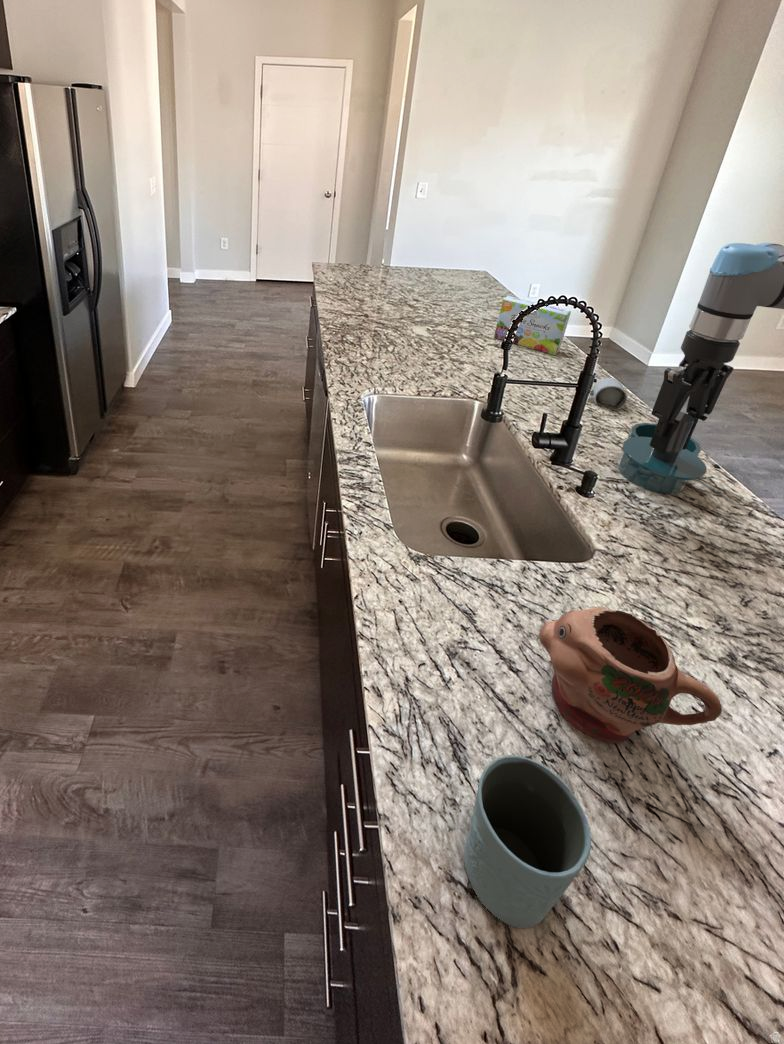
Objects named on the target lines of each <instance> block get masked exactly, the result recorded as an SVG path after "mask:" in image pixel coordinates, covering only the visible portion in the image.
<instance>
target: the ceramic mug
mask: <svg viewBox="0 0 784 1044" xmlns="http://www.w3.org/2000/svg"><path fill="white" fill-rule="evenodd" d="M590 395H593V396H588V397H589V399H588V401H587V402H589V403H595V406H599V403H602V404H604V405H607V406H611V407H616V410H621V409H623V408H624V407H625V406H626V405H627V402H628V394H627V391H626V390H625V388H624V386H623V384H622V383H621V382H620V381H619V380H618V379H616V378H613V377H603V378H600V379H598V380H597V381H596V382H595V384H594V385H593V388H592V391H591V394H590ZM598 402H599V403H598Z"/></svg>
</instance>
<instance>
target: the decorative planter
mask: <svg viewBox="0 0 784 1044" xmlns="http://www.w3.org/2000/svg"><path fill="white" fill-rule="evenodd" d="M538 639H539V642H540V645H542V647H543V648H544V649H545V650H546V652H547V654H548V655H549V658H550V662H551V666H552V669H553V671H554V674H553V676H552V679H551V684H550V685H551V686H550V689H551V690H550V691H551V696H552V699H553V702H554V704H555V706H556V708H557V709H558V710H559V712H560V713H561V714H562V716H563V717H564V718H565V719H566V720H567V722H569V723H570V724H571V725H572V726H573V727H575V728H576V729H577V730H579V731H581V732H582V733H583V734H585V735H587V736H589V737H591V738H594V739H596V740H599V741H602V742H605V743H607V744H619V743H622V742H625V741H627V740H628V739H629V738H630V736H632V734H634V732H637V731H640V730H643V729H645V728H646V729H647V728H650V727H652V726H655V725H657V724H663V725H664V724H665V725H672V726H694V725H698V724H706V723H708V722H715V721H716V720H717V719H718V718H719V717H720V716H721V714H722V712H723V708H722V703H721V700H720V699H719V697H718V695H717V694H716V693H715V692H714V691H713V690H712V689H711V688H709V687H708V686H707V685H705V684H704V683H703V682H701V681H699V680H697V679H695V678H694V677H692V676H690V675H689V674H687V673H685V672H683V671H682V670H681V669H679V667H678V666H677V664H676V660H675V655H674V652H673V650H672V648H671V647H670V644H669V643H668V642H667V641H666V639H665V638H664V637H663V636H662V635H661V634H660V633H659V632H658V631H657V630H656V629H654V628H653V627H651V626H650V625H649V624H648V623H646V622H644V621H643V620H642V619H640V618H638V617H636V616H635V615H633V614H632V613H628V612H625V611H621V610H616V609H611V608H606V607H603V606H595V607H591V608H587V609H573V610H572V609H571V610H570V611H567V612H565V613H563V614H562V615H560V617H559V618H558V619H555V620H550V621H547V622H545V623H544V624H543V625H542V626H541V627H540V630H539V633H538ZM679 694H687V695H691V696H693V697H695V698H697V699H698V700H700V701H701V702H702V704H703V705H704V710H703V711H700V712H696V713H688V714H686V713H685V714H683V713H680V712H678V711H677V710H675V709H673V708H672V707H671V706H670V705H671V702H672V699H673V698H675V697H676V696H677V695H679Z"/></svg>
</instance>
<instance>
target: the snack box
mask: <svg viewBox="0 0 784 1044" xmlns="http://www.w3.org/2000/svg"><path fill="white" fill-rule="evenodd" d="M534 303H537V302H535V301H531V300H527V299H523V298H519V297H515V296H510V295H506V296H505V297H504V298H502V301H501V305H500V310H499V314H498V319H497V323H496V327H495V330H494V331H495V332H494V335H493V338H494V339H498V340H501V341H504V339H505V337H506V335H507V332H508V330H509V328H510V325H511V322H512V321H513V320H514V319H515V318H516V316H517V315H518V314H519V313H520V312H521V311H522V310H524V309H525V308H526V307H528V306H530V305H532V304H534ZM571 312H572V311H571V310H568V309H564V308H560V307H556V306H552V305H548V306H547V307H544V308H541V309H538V310H536V311H534V312H533V313H531V314H529V315H527V316H526V317H525V318H524V319H523V320H522V322H521V323H520V325H519V327H518V329H517V332H516V334H515V338H514V341H513V343H512V344H515V345H519V346H522V347H525V348H529V349H532V350H535V351H538V352H542V353H545V354H550V355H552V356H556V355H557V354H558V353H559V352H560V350H561V347H562V344H563V340H564V337H565V333H566V330H567V326H568V323H569V320H570V318H571Z"/></svg>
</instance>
